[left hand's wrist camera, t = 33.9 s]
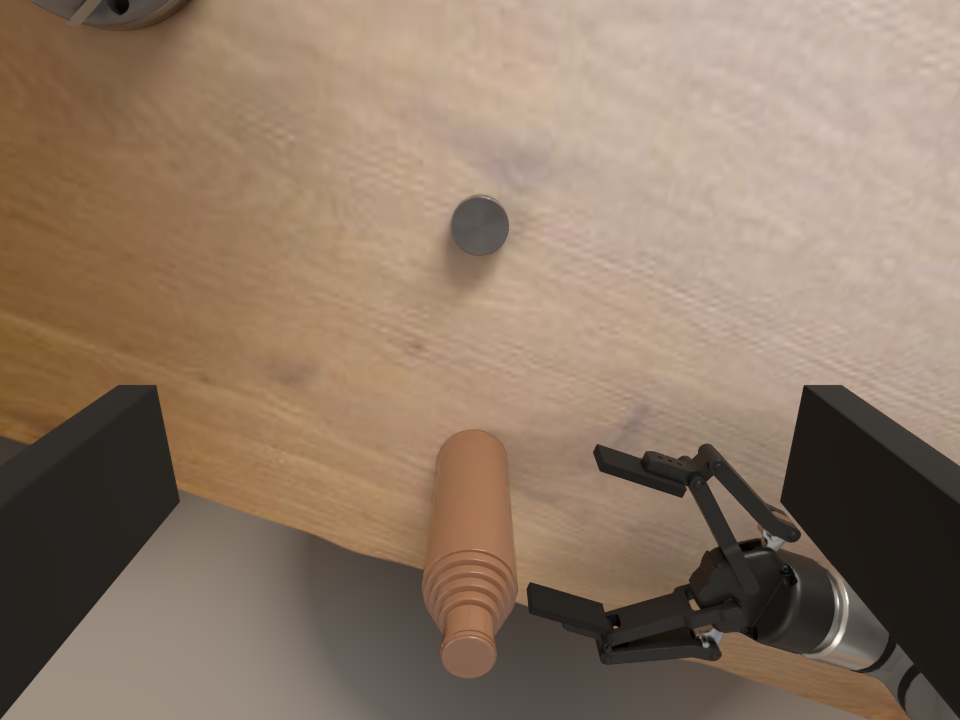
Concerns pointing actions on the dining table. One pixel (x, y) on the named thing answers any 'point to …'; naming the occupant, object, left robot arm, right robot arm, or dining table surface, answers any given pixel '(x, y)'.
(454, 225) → the cap
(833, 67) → the dining table surface
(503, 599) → the bottle
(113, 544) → the left robot arm
